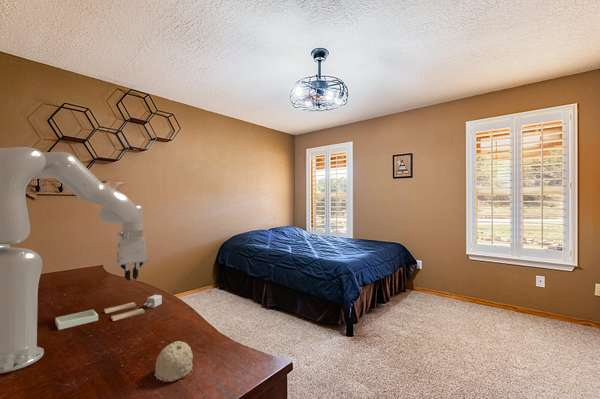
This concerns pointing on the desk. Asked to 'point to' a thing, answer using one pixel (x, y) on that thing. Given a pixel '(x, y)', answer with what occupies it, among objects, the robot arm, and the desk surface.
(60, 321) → the tray
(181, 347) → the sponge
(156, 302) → the usb wall charger
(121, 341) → the desk surface
